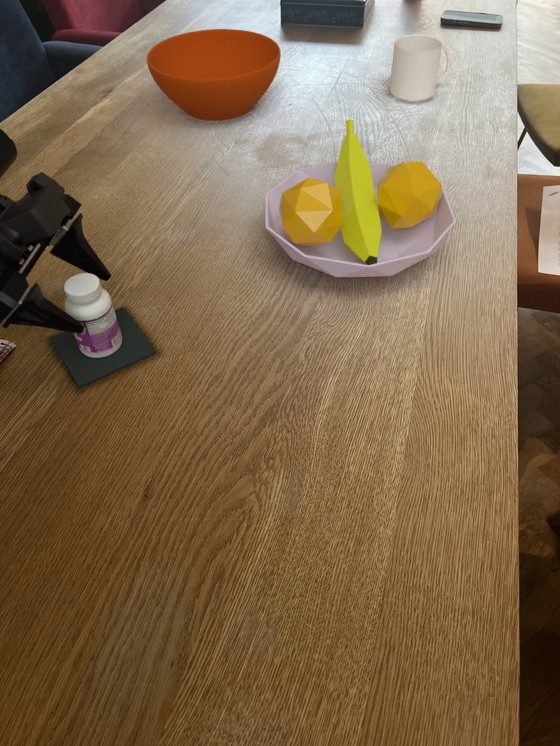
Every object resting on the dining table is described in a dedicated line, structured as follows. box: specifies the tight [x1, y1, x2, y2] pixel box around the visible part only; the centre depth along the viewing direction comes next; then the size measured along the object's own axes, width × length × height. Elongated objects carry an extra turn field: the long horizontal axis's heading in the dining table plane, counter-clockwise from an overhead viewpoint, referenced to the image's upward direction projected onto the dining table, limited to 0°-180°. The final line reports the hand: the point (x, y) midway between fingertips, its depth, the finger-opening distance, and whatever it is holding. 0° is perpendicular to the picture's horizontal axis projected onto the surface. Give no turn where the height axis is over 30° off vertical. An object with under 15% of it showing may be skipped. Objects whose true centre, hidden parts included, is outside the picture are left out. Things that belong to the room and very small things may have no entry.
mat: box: [49, 306, 157, 389], centre depth 76 cm, size 10×10×1 cm
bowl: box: [146, 28, 282, 122], centre depth 119 cm, size 25×25×10 cm
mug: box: [389, 33, 452, 102], centre depth 121 cm, size 12×9×9 cm
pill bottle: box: [63, 272, 122, 358], centre depth 72 cm, size 5×5×10 cm
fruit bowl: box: [265, 119, 457, 278], centre depth 86 cm, size 28×27×11 cm
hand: (96, 303), depth 71 cm, fingers open, 9 cm apart
